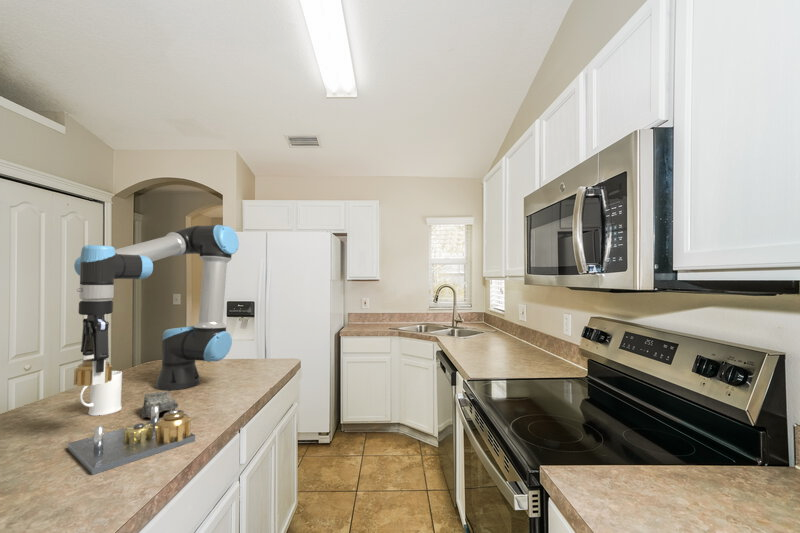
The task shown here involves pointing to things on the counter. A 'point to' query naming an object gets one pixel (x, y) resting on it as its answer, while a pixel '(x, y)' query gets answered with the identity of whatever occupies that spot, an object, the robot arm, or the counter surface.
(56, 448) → the counter surface
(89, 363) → the gear
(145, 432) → the carrier
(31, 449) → the counter surface
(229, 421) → the counter surface
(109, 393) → the mug
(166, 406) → the rock
